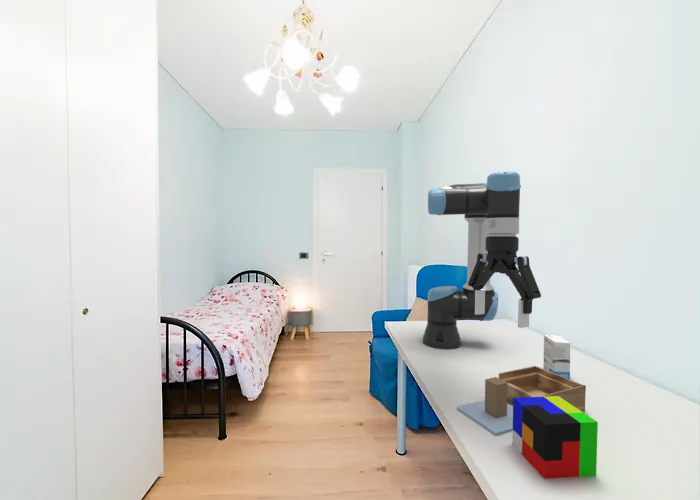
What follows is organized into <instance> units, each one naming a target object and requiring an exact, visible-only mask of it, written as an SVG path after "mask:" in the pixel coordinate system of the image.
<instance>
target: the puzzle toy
mask: <svg viewBox="0 0 700 500" xmlns="http://www.w3.org/2000/svg"><path fill="white" fill-rule="evenodd" d="M512 407H513V431H512V435H511V436H512V439H511V440H512V441H511V442H512V444H511V445H512V446H513V447H514V448H515V449H516V450H517V452H519V453H520V455H522V457H523V459H525V460H526V461H527V462H528V463H529V464H530V466H532V468H534V469H535V471H536V472H537V473H538V474H539V475H540V476H541V477H542V478H543V479H544V480H547V479H565V478H566V479H567V478H582V477H597V465H598V463H597V462H598V461H597V459H598V458H597V457H598V455H597V454H598V430H599V429H598V427H599V426H598V424H599V423H598V421H597V420H595V419H594V418H592V417H590V416H589V415H588V414H586V413H584V412H582V411H580V410H579V409H577V408H576V407H574V406H573V405H571V404H570V403H568V402H567V401H565V400H564V399H562V398H561V397H559V396H548V397H521V398H513V405H512Z"/></svg>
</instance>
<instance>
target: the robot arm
mask: <svg viewBox="0 0 700 500" xmlns="http://www.w3.org/2000/svg"><path fill="white" fill-rule="evenodd" d="M521 188H522V185H521V175H520V174H519V173H518V172H516V171H497V172H492V173H490V174H488V176H487V178H486V183H485V182H483V183H466V184H465V183H462V184H458V183H457V184H456V183H455V184H451V185H447V186H443V187H441V188H440V187H438V188H431V189H429V190H428V193H427V213H428V214H429V215H433V216H434V215H435V216H444V215H445V216H448V215H450V216H453V215H454V216H455V215H464V220H465V221H466V222H467V223H468V226H467V228H468V229H467V231H468V232H467V266H466V267H467V270H466V273H467V274H466V283H465V284H463V286H462V290H461V289H460V290H459V289H458V287H457V286H456V285H455V286H454V285H446V286H445V285H444V286H436V287H433V288H430V289H429V290H428V292H427V299H426V302H427V318H426V319H427V323H426V327H425V330H424V332H423V335H422V343H423V344H425V345H426V346H429V347H432V348H435V349H446V350H448V349H457V348H459V347H461V345H462V341H461V337H460V332H459V329H458V326H457V325H458V323H457V322H458V321H457V320H463V321H464V320H467V321H468V320H469V321H480V322H482V321H484V322H491V321H493V320H494V319H495V318H496V316H497V311H498V308H499V294H498V292H497V291H495V288H494V286H493V285H492V284H491V278H492V276H493V275H494V274H495V273H499V274H505V275H506V276H507V277H508V278H509V280H510V281H511V283H512V285H513V286H514V287H515V290H516V291H517V293H518V294H519V296H520V297H521V298H519V299H518V301H517V302H518V305H517V306H518V307H517V308H518V309H517V328H520V329H523V328H524V329H525V328H529V327H530V314H532V312H533V300H535V299H539V298H541V297H542V294H541V293H542V292H541V291H540V288H539V286H538V284H537V282H536V278H535V276H534V273H533V271H532V269H531V266H530V258H529V256H525V255H522V256H517V253H518V251H519V245H520V244H519V243H520V241H519V239H520V238H519V237H518V236H517V235H519V234H520V204H521V203H520V201H521V200H520V199H521V198H520V197H521Z"/></svg>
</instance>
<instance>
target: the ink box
mask: <svg viewBox="0 0 700 500" xmlns="http://www.w3.org/2000/svg"><path fill="white" fill-rule="evenodd" d="M542 369H544V370H547V371H549V372H552V373H554V374H557V375H559V376H562V377H565V378H567V379H570V380H571V343H570V342H569V341H568V340H566V339H565V338H563V336H560V335H551V334H543V368H542Z"/></svg>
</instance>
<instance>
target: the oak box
mask: <svg viewBox="0 0 700 500" xmlns="http://www.w3.org/2000/svg"><path fill="white" fill-rule="evenodd" d="M498 378H499V379H501V380H503V381H505V382H507V383H508V386H507V403H508V404H511V406H513V398H521V397H548V396H559V397H561V398H562V399H564V400H565V401H567V402H568V403H570V404H571V405H573V406H574V407H576V408H577V409H579V410H580V411H582V412H583V413H584V412H585V411H586V389H587V387H586V386H587V385H585V384H583V383H580V382H577V381H574V380H572V379H571V378H570V379H567V378H565V377H562V376H559V375H557V374H554V373H552V372H549V371H547V370H544V369H543V368H541V367H539V366H536V365H533V366H529V367H523V368H519V369H513V370H508V371H504V372H499V373H498Z"/></svg>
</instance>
